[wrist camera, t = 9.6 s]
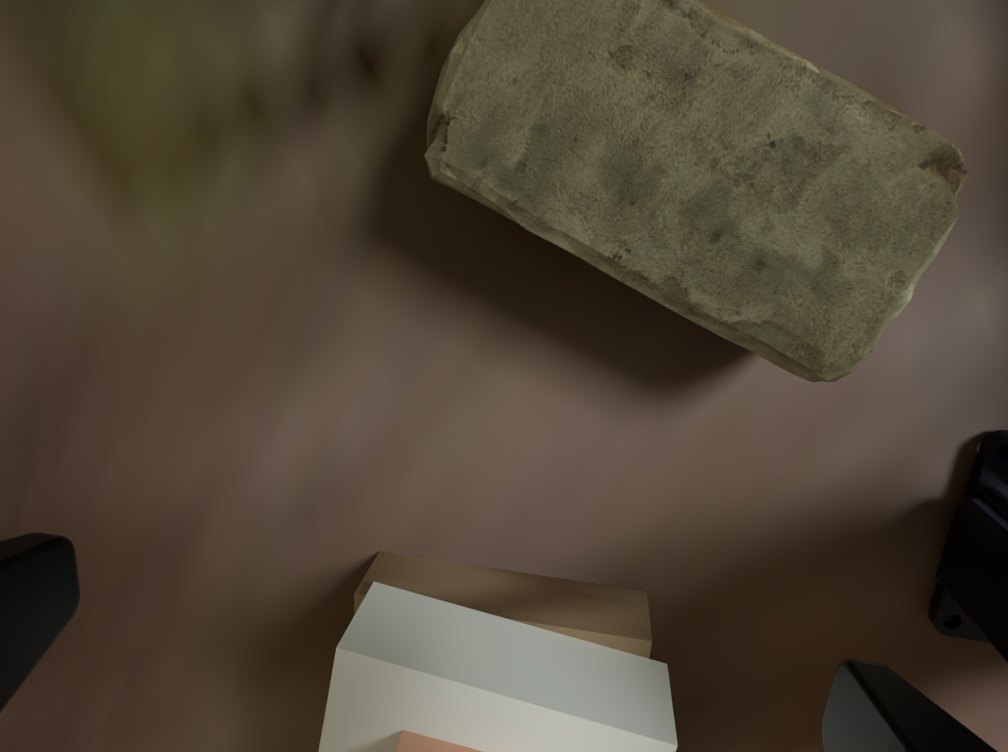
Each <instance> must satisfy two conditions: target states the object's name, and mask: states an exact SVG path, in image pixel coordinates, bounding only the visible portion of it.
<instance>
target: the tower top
mask: <svg viewBox="0 0 1008 752" xmlns="http://www.w3.org/2000/svg"><path fill="white" fill-rule="evenodd" d="M403 730H405V731H409V732H413V733H416V734H420V735H424V736H428V737H431V738H435V739H439V740H443V741H446V742H450V743H454V744H458V745H461V746H465V747H469V748H472V749H476V750H480V751H483V752H676V749H677V747H678V744H677V736H676V728H675V721H674V713H673V705H672V698H671V690H670V682H669V674H668V667H667V664H666V663H662V662H659V661H655V660H652V659H648V658H645V657H641V656H638V655H634V654H630V653H627V652H623V651H620V650H616V649H613V648H609V647H606V646H602V645H598V644H595V643H591V642H588V641H584V640H581V639H577V638H573V637H570V636H566V635H563V634H559V633H556V632H552V631H549V630H545V629H541V628H538V627H534V626H531V625H527V624H523V623H520V622H516V621H513V620H509V619H506V618H502V617H499V616H495V615H492V614H488V613H484V612H481V611H477V610H474V609H470V608H467V607H463V606H459V605H456V604H452V603H449V602H445V601H442V600H438V599H435V598H431V597H427V596H424V595H420V594H417V593H413V592H410V591H406V590H402V589H399V588H395V587H392V586H388V585H385V584H381V583H378V582H373V584H372V586H371V587H370V589H369V591H368V593H367V594H366V596H365V598H364V600H363V601H362V603H361V605H360V607H359V608H358V610H357V612H356V614H355V615H354V617H353V619H352V621H351V623H350V624H349V626H348V628H347V630H346V631H345V633H344V635H343V637H342V638H341V640H340V642H339V644H338V645H337V647H336V653H335V659H334V664H333V670H332V676H331V682H330V688H329V694H328V699H327V705H326V711H325V717H324V723H323V729H322V734H321V740H320V746H319V752H395V750H396V747H397V745H398V742H399V739H400V736H401V733H402V731H403Z"/></svg>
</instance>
